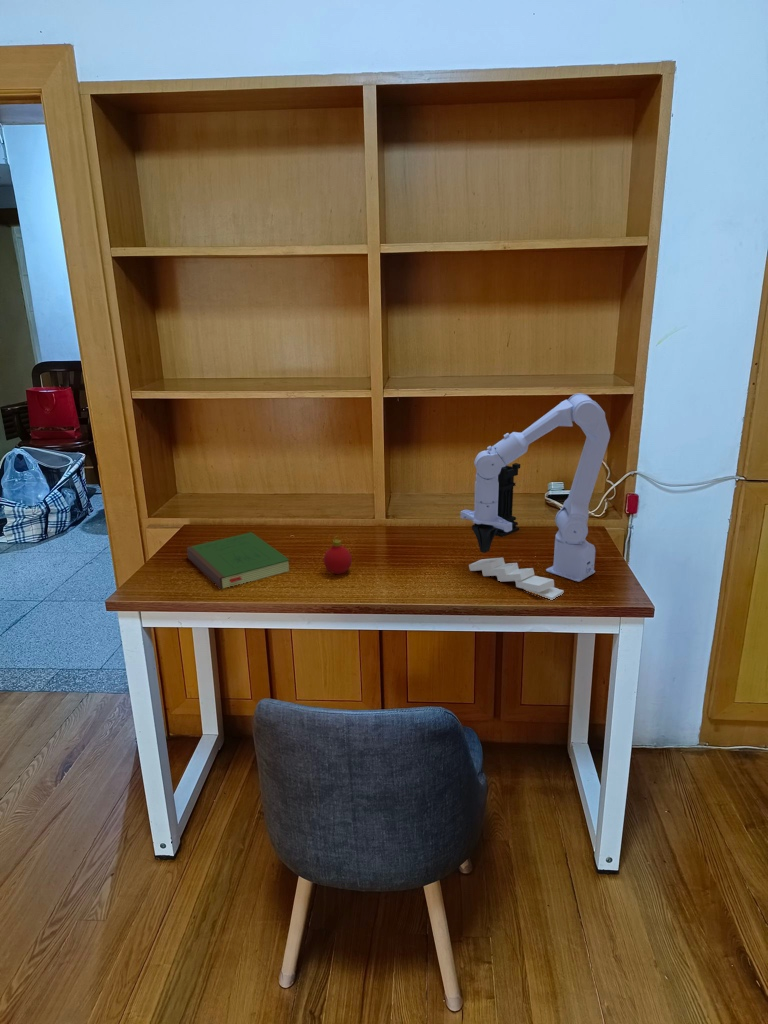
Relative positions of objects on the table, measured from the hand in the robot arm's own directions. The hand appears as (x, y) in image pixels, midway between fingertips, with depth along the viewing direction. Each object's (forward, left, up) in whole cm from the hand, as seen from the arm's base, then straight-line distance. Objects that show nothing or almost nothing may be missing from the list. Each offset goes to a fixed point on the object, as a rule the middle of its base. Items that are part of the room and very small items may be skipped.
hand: (484, 551), depth 171 cm
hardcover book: (+50, +41, -6) cm, 65 cm away
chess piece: (+14, -26, -6) cm, 30 cm away
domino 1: (+3, 0, -5) cm, 5 cm away
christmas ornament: (+26, +26, -6) cm, 38 cm away
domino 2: (-2, 0, -5) cm, 5 cm away
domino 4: (-12, 0, -4) cm, 13 cm away
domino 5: (-14, 0, -5) cm, 15 cm away
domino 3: (-6, 0, -5) cm, 8 cm away
